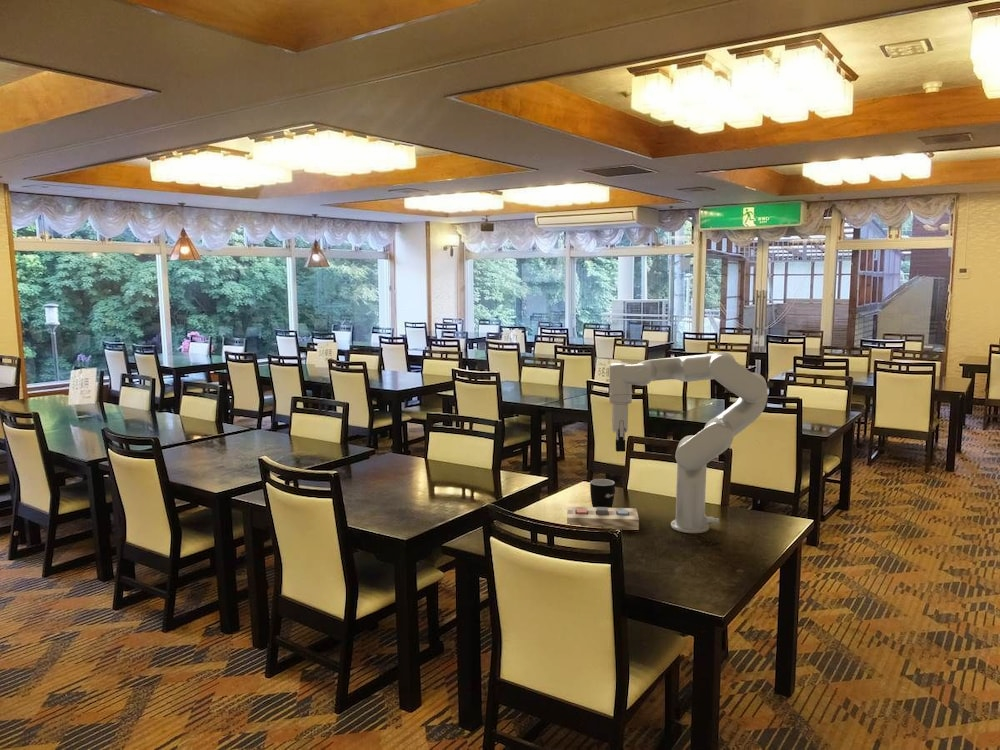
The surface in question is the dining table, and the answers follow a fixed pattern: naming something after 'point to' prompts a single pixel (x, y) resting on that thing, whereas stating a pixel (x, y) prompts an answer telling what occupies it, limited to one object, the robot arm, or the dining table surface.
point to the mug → (602, 492)
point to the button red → (581, 511)
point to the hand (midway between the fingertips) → (620, 450)
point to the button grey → (602, 511)
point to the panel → (604, 518)
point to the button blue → (622, 512)
